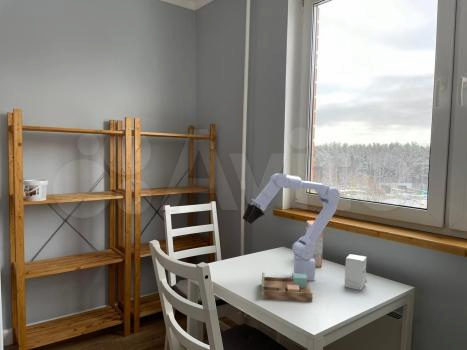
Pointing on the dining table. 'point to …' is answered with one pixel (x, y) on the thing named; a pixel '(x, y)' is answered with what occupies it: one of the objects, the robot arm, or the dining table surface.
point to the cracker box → (317, 247)
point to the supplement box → (355, 271)
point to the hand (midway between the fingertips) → (246, 221)
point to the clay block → (293, 288)
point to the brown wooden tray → (283, 290)
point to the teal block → (300, 280)
